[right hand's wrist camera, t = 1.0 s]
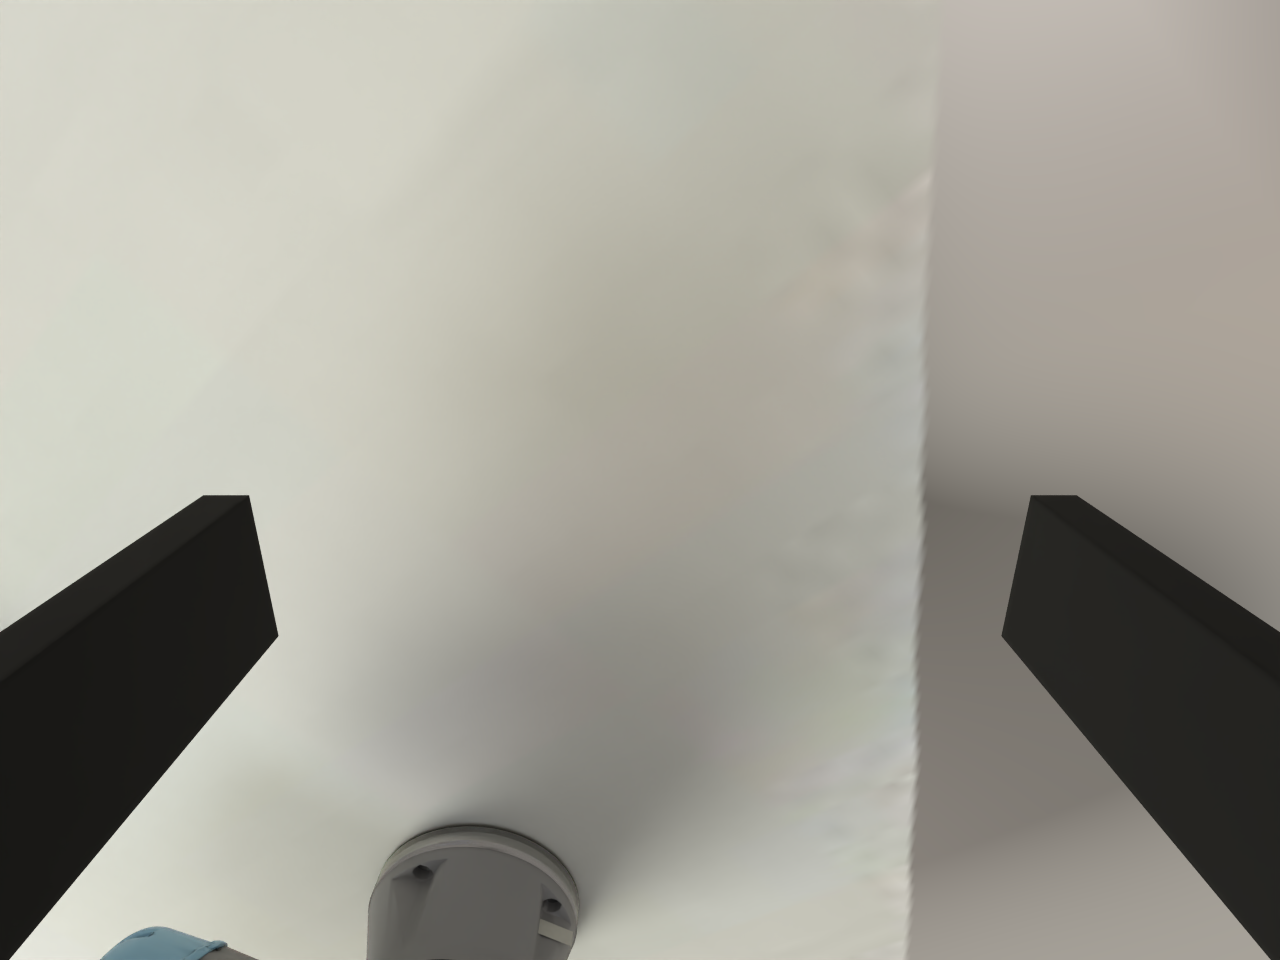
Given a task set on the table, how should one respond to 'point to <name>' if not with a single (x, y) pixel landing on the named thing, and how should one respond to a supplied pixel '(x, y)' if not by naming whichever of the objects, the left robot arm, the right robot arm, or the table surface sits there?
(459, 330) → the table surface
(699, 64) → the table surface
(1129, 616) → the right robot arm
